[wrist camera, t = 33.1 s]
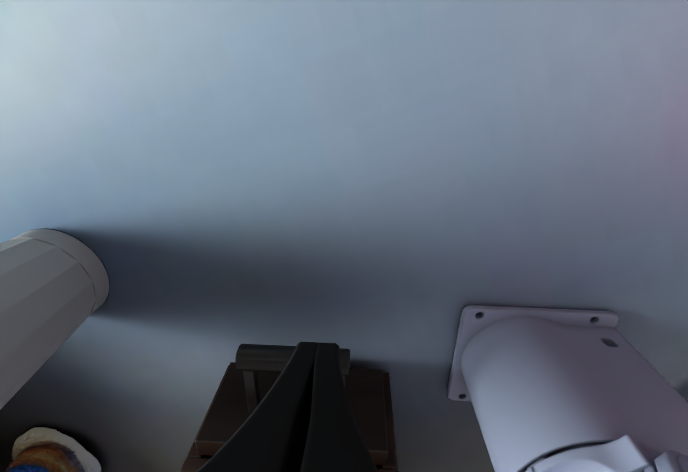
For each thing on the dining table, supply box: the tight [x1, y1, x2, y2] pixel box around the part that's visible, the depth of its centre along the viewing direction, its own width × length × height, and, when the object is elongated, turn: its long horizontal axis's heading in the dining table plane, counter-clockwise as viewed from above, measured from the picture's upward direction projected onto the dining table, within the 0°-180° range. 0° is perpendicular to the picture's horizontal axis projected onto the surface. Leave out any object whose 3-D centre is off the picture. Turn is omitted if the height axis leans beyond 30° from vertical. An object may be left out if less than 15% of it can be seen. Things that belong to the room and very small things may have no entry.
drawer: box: [195, 344, 388, 465], centre depth 23 cm, size 17×10×6 cm, turn 179°
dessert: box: [6, 427, 101, 472], centre depth 30 cm, size 8×7×6 cm
